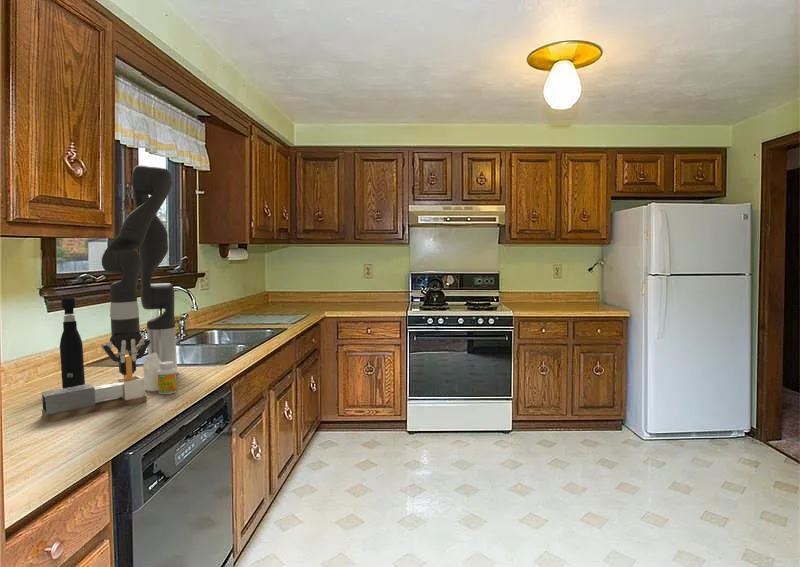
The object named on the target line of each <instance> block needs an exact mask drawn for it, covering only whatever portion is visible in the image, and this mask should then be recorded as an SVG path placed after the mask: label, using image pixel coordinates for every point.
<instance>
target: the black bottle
mask: <svg viewBox="0 0 800 567" xmlns="http://www.w3.org/2000/svg"><path fill="white" fill-rule="evenodd" d="M60 300H61V309H64V316H63V322H62V325H63V331H62V334H61V336H60V343H59V352H60V353H59V355H60V369H61V385H62V386H61V387H62V388H61V389H63V388H68V387H74V386H80V385H85V384H86V378H85V364H84V363H85V361H84V348H83V346H84V345H83V340H82V338H81V334H80V333H79V330H78V327H77V325H78V324H77V320H76V315H74V314H75V311H74V309H75V308H77V307H76V306H77V304H76V297H62V298H61V299H60Z"/></svg>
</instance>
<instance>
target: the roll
mask: <svg viewBox="0 0 800 567" xmlns="http://www.w3.org/2000/svg"><path fill="white" fill-rule="evenodd" d="M160 363H161V361H160V360H159V358H158V355H157V353H155V352H154V353H152V354H151V355H149V354H148V356H147V358H146V359H145V360H144V362H143V378H144V382H145V390H148V391H147V392H156V391H158V371H159V370H160V369H161V368H160Z"/></svg>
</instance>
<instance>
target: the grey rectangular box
mask: <svg viewBox="0 0 800 567" xmlns="http://www.w3.org/2000/svg"><path fill="white" fill-rule="evenodd" d="M94 387H95V386H94V385H92V384H90V383H85V385H80V386H74V387H68V388H57V389H52V390H51V389H50V390H46V391H41V403H42V410H43V412H44V413H45V414H46V415H47V416H48V415H53V414H58V413H63V412H68V411H73V410H78V409H83V408H88V407H93V406H96V404H95V388H94Z"/></svg>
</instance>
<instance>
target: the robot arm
mask: <svg viewBox="0 0 800 567" xmlns="http://www.w3.org/2000/svg"><path fill="white" fill-rule="evenodd" d="M131 176H132V177H131V182H132V183H131V184H132V186H131V187H132V191H133V197H134V204H135V209H134V210H132V211H130V213H129V214H128V215H127V216H126V217H125V219H124V220H123V223H122V225H121V227H120V231H119V233H118V234H117V236H116V237H115V238H114V239H113V240H112V242H111V243H110V244H109V246H108V247H107V248H106V249H105V250H104V252H103V254H102V257H101V265H102V269H103V270H104V271H105V272H106V273H109V274H123V275H122V278H121V280H118V281H115V282H112V283H111V284H110V285H109V294H110V295H109V296H110V309H109V312H110V314H109V317H110V333H111V336H110V339H109V341H108V342H106V343H103V344H101V349H102V350H103V351H104V352H105V354H107V357H109V359H110V360H111V361H113V362H115V363H118V372H119V373H120V374H121V375H122V376H124V375H126V363H125V355H127V354H126V352H128V355H130V356H131V357H132V375H133V374H135V372H136V371H137V362H136V361H137V360H138V359H142V358H143V356H144V354H145V353H146V350H147V351H148V356H149V355H151V354H152V353H154V352H155V353H157V355H158V358H159V360H160V361H161V362H165V361H172V362H173V368H174V369H175V370H176V375H177V374H178V356H177V355H178V353H177V339H176V335H177V334H176V322H175V320H176V319H175V288H174V286H173V284H172V283H170V282H168V283H167V282H165V283H164V282H162V283H160V282H159V283H151V281H152V279H153V276H154V273H155V272H156V270H157V268H158V267H159V266H160V264H161V263H162V262H163V260H164V259H165V257H166V256H167V253H168V250H169V240H168V239H169V237H168V231H167V229H166V227H165V224H164V223H163V221H161V219H160V217H158V215H157V213H158V212H159V211H160V209H161V207H162V205H163V204H164V202H165V201H166V199H167V197H168V196H169V195H170V192H171V188H172V185H173V177H172V173H171V171H169V170H168V169H166V168H163V167H158V166H149V165H142V164H141V165H139V164H138V165H136V166H134V168H133V170H132V175H131ZM137 250H138V251H137ZM139 277H140V278H139ZM139 279H140V303H141V306H142V308H143V309H144V310H148V311H149V310H150V311H151V310H162V309H163V310H164V311H163V312H162V313H161V314H160V315H158V316H156V317H153V318H151V319H148V320H147V322H146V329H147V331H146V332H147V333H146V334H147V338H145V337H143V335H142V334H141V333H140V332H141V330H140V329H141V328H140V311H139V305H138V292H137V288H138V283H139ZM139 344H140V346H139V347H138V350H137V346H138V345H139ZM113 346H114V348H115V349H116V350H117V355H116V354H115V352H114V351H112V349H113Z"/></svg>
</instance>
